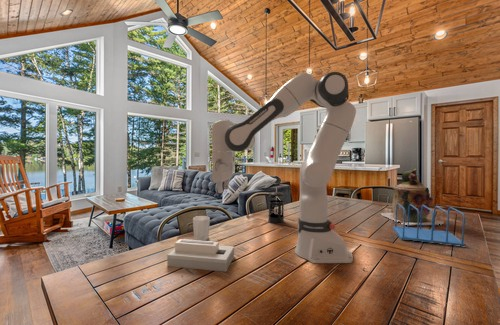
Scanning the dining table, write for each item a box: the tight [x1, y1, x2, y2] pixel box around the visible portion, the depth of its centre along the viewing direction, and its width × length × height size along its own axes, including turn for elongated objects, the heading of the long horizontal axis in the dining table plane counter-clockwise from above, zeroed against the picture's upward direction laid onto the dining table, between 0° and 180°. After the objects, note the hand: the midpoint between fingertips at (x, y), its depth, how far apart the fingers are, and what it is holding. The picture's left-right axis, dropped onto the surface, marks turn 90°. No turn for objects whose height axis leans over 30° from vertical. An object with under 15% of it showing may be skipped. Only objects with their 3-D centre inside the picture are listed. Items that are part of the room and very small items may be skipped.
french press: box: [268, 182, 285, 225], centre depth 145 cm, size 12×9×23 cm
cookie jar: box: [380, 168, 445, 226], centre depth 149 cm, size 25×25×32 cm
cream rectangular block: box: [174, 238, 220, 254], centre depth 92 cm, size 16×4×6 cm, turn 80°
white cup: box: [192, 215, 211, 241], centre depth 116 cm, size 8×8×10 cm
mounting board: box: [166, 244, 235, 272], centre depth 92 cm, size 22×12×4 cm, turn 80°
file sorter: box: [392, 203, 467, 247], centre depth 119 cm, size 25×17×15 cm
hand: (223, 191), depth 104 cm, fingers open, 8 cm apart
